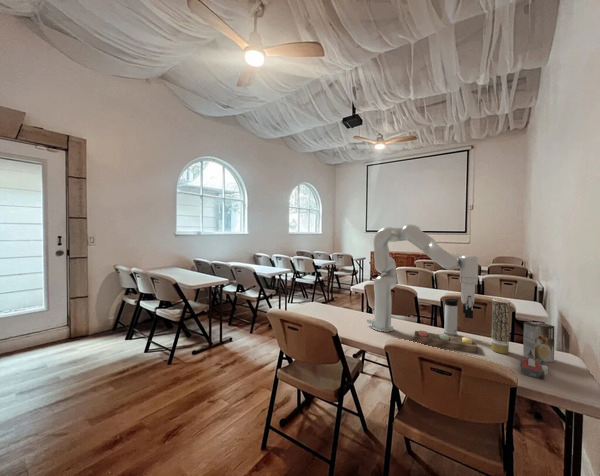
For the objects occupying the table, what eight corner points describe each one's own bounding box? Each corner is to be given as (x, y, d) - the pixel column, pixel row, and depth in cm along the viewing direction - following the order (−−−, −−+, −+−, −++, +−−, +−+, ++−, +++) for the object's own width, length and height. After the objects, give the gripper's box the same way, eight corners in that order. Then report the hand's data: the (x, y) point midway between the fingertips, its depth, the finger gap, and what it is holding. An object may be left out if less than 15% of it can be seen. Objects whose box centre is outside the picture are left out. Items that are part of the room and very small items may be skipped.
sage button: (439, 341, 139) (439, 335, 139) (439, 338, 143) (439, 333, 143) (449, 343, 137) (449, 337, 137) (448, 340, 141) (448, 334, 141)
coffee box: (541, 355, 128) (542, 321, 128) (554, 362, 122) (555, 326, 122) (522, 355, 128) (523, 321, 128) (534, 362, 121) (535, 326, 121)
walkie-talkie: (550, 383, 104) (545, 364, 120) (550, 372, 104) (546, 354, 120) (520, 376, 110) (520, 358, 125) (521, 365, 110) (520, 349, 125)
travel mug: (459, 336, 151) (460, 300, 151) (446, 335, 152) (447, 299, 152) (455, 332, 157) (456, 298, 157) (442, 331, 158) (443, 297, 158)
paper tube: (511, 355, 129) (513, 301, 128) (495, 353, 130) (497, 301, 129) (503, 349, 135) (505, 298, 135) (488, 347, 136) (489, 297, 136)
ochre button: (462, 345, 135) (462, 339, 135) (461, 342, 139) (461, 336, 139) (472, 347, 133) (472, 341, 133) (471, 344, 137) (471, 338, 137)
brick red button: (418, 338, 144) (418, 332, 143) (418, 335, 147) (418, 330, 147) (427, 339, 142) (427, 334, 142) (427, 337, 146) (427, 331, 146)
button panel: (413, 342, 142) (414, 336, 142) (414, 336, 151) (415, 330, 151) (477, 353, 130) (478, 347, 130) (474, 345, 139) (475, 339, 139)
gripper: (458, 277, 145) (457, 310, 145) (461, 282, 129) (460, 319, 130) (474, 278, 142) (474, 312, 142) (480, 283, 126) (479, 321, 126)
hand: (467, 315), depth 136 cm, fingers open, 8 cm apart
